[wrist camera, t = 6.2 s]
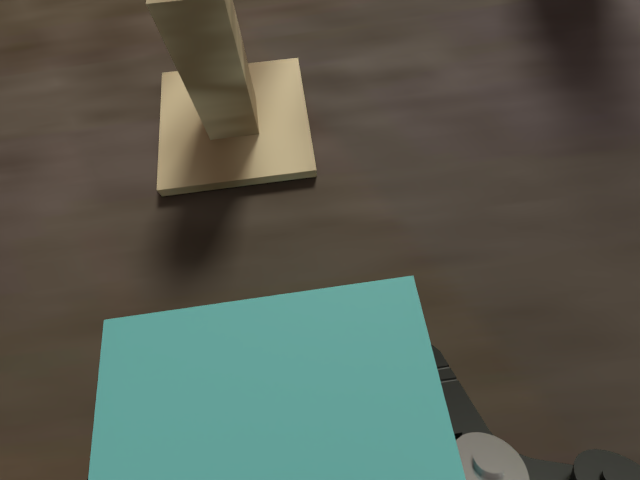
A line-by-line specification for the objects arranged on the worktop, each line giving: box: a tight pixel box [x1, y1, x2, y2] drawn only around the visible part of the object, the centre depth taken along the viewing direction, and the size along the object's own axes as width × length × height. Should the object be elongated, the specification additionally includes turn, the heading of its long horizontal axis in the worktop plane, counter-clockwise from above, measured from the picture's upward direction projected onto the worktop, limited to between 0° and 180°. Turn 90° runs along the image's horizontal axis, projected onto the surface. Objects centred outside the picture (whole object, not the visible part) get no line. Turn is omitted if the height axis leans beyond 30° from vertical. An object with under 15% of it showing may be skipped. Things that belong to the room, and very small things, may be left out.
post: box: [146, 0, 317, 196], centre depth 15 cm, size 8×8×8 cm
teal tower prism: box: [88, 276, 466, 480], centre depth 9 cm, size 6×6×9 cm
